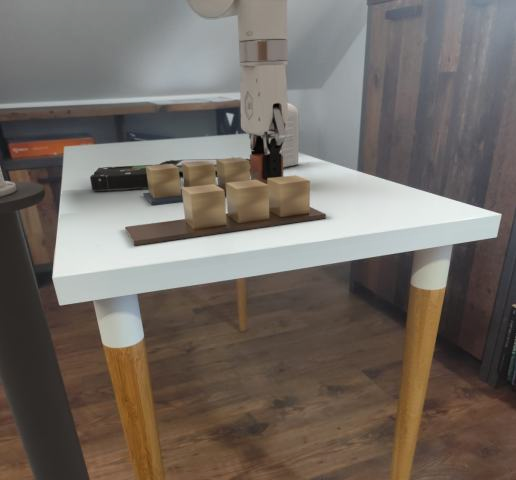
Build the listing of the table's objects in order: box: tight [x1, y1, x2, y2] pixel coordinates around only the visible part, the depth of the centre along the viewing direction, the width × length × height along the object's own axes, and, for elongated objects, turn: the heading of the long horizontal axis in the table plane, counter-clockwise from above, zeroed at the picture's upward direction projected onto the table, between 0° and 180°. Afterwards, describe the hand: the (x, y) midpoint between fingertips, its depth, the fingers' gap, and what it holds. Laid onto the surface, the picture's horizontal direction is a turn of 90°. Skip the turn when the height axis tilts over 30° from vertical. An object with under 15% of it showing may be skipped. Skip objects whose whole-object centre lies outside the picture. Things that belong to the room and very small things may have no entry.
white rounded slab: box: [261, 102, 300, 168], centre depth 101 cm, size 10×4×12 cm, turn 139°
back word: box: [142, 156, 251, 206], centre depth 83 cm, size 24×7×5 cm, turn 112°
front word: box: [124, 174, 327, 247], centre depth 65 cm, size 26×7×5 cm, turn 112°
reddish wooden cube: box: [249, 153, 284, 184], centre depth 85 cm, size 4×4×4 cm
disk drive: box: [89, 163, 175, 192], centre depth 92 cm, size 10×3×15 cm
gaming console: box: [159, 158, 250, 177], centre depth 100 cm, size 19×9×3 cm, turn 84°
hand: (266, 175), depth 86 cm, fingers closed on reddish wooden cube, 4 cm apart
